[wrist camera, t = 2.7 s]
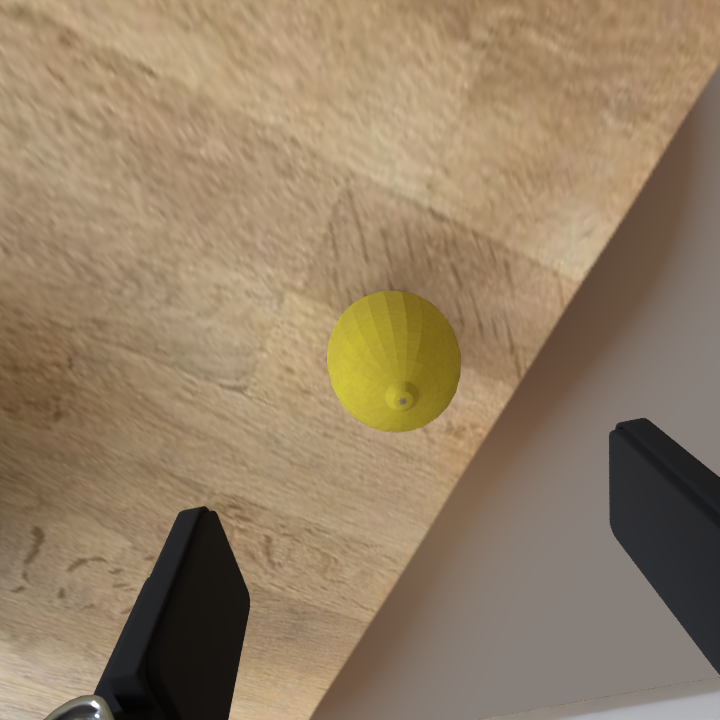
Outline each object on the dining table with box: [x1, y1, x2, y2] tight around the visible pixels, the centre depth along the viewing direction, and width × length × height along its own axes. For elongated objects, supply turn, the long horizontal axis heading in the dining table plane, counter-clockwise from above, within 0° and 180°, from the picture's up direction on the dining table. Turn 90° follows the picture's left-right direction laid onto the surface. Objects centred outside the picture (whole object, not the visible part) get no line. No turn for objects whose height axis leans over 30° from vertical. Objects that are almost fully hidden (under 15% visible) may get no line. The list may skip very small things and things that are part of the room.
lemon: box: [327, 291, 460, 432], centre depth 20 cm, size 6×6×8 cm
